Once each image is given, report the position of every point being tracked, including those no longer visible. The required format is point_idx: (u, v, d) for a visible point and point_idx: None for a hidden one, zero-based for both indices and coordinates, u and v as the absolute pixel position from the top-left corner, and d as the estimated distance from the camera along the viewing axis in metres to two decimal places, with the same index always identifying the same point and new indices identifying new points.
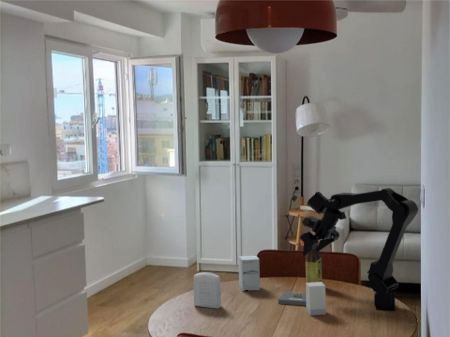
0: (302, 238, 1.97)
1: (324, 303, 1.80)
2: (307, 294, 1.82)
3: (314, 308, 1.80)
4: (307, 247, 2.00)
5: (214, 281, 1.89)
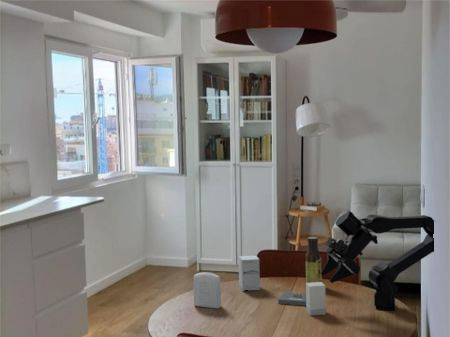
0: (348, 264, 1.73)
1: (324, 303, 1.80)
2: (307, 294, 1.82)
3: (314, 308, 1.80)
4: (341, 273, 1.76)
5: (214, 281, 1.89)
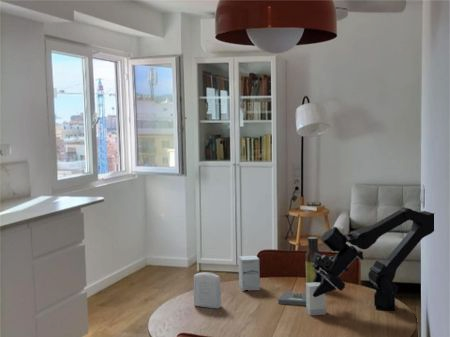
0: (333, 281, 1.72)
1: (324, 303, 1.80)
2: (307, 294, 1.82)
3: (314, 308, 1.80)
4: (324, 288, 1.78)
5: (214, 281, 1.89)
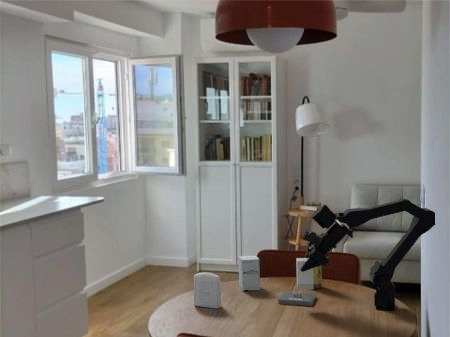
0: (316, 256, 1.76)
1: (312, 278, 1.84)
2: None
3: (302, 282, 1.85)
4: (311, 263, 1.83)
5: (214, 281, 1.89)
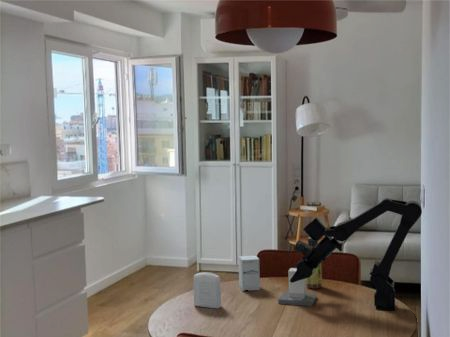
0: (300, 267, 1.85)
1: (302, 288, 1.93)
2: None
3: (293, 291, 1.94)
4: (299, 275, 1.89)
5: (214, 281, 1.89)
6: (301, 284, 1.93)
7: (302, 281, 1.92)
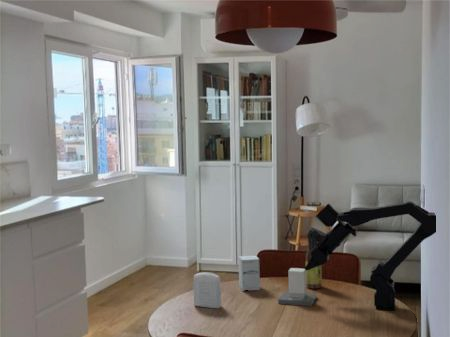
0: (315, 253, 1.83)
1: (302, 288, 1.93)
2: None
3: (293, 291, 1.94)
4: (314, 262, 1.87)
5: (214, 281, 1.89)
6: (301, 284, 1.93)
7: (302, 281, 1.92)
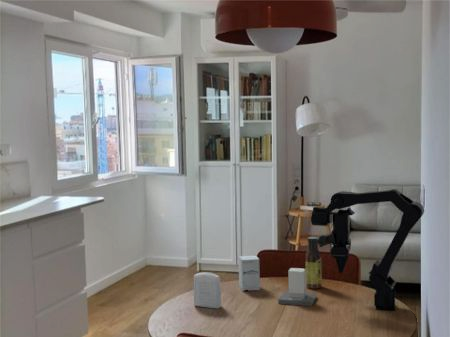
0: (334, 253, 1.82)
1: (302, 288, 1.93)
2: None
3: (293, 291, 1.94)
4: (341, 261, 1.86)
5: (214, 281, 1.89)
6: (301, 284, 1.93)
7: (302, 281, 1.92)
